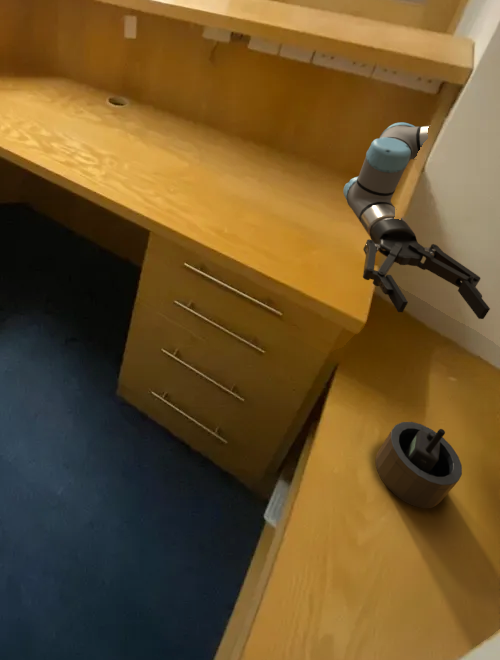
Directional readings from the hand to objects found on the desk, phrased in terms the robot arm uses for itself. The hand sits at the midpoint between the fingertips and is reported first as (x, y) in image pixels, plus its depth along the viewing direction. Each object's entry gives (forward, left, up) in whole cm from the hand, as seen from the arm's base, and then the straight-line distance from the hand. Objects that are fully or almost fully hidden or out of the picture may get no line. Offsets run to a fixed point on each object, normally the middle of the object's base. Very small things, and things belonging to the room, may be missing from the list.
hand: (443, 310), depth 90 cm
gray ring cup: (+2, +17, -24) cm, 30 cm away
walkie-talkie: (+2, +17, -24) cm, 29 cm away
